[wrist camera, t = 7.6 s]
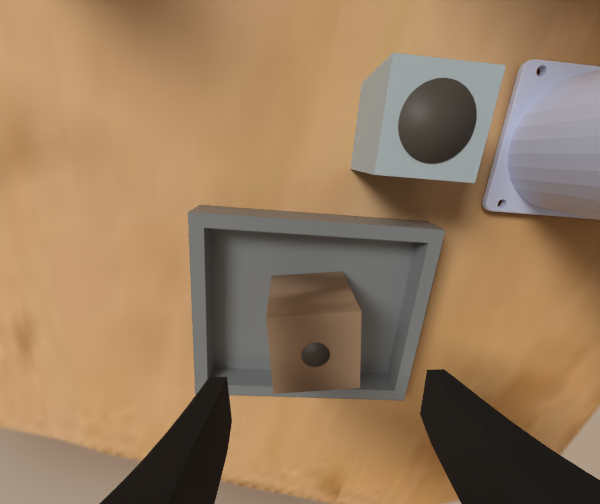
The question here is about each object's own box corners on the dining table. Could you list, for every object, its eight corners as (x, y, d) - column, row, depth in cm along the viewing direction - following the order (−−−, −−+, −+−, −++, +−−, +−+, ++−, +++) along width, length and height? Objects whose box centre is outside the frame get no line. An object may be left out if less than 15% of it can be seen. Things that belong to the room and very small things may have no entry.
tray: (427, 221, 18) (445, 230, 16) (393, 377, 22) (404, 400, 20) (200, 205, 17) (188, 211, 15) (204, 370, 21) (195, 393, 19)
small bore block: (342, 271, 19) (361, 312, 14) (342, 332, 20) (360, 388, 15) (271, 275, 18) (265, 318, 14) (276, 336, 20) (273, 394, 15)
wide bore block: (442, 91, 16) (506, 64, 11) (424, 175, 18) (475, 183, 13) (361, 83, 16) (393, 52, 11) (350, 169, 17) (374, 174, 12)
